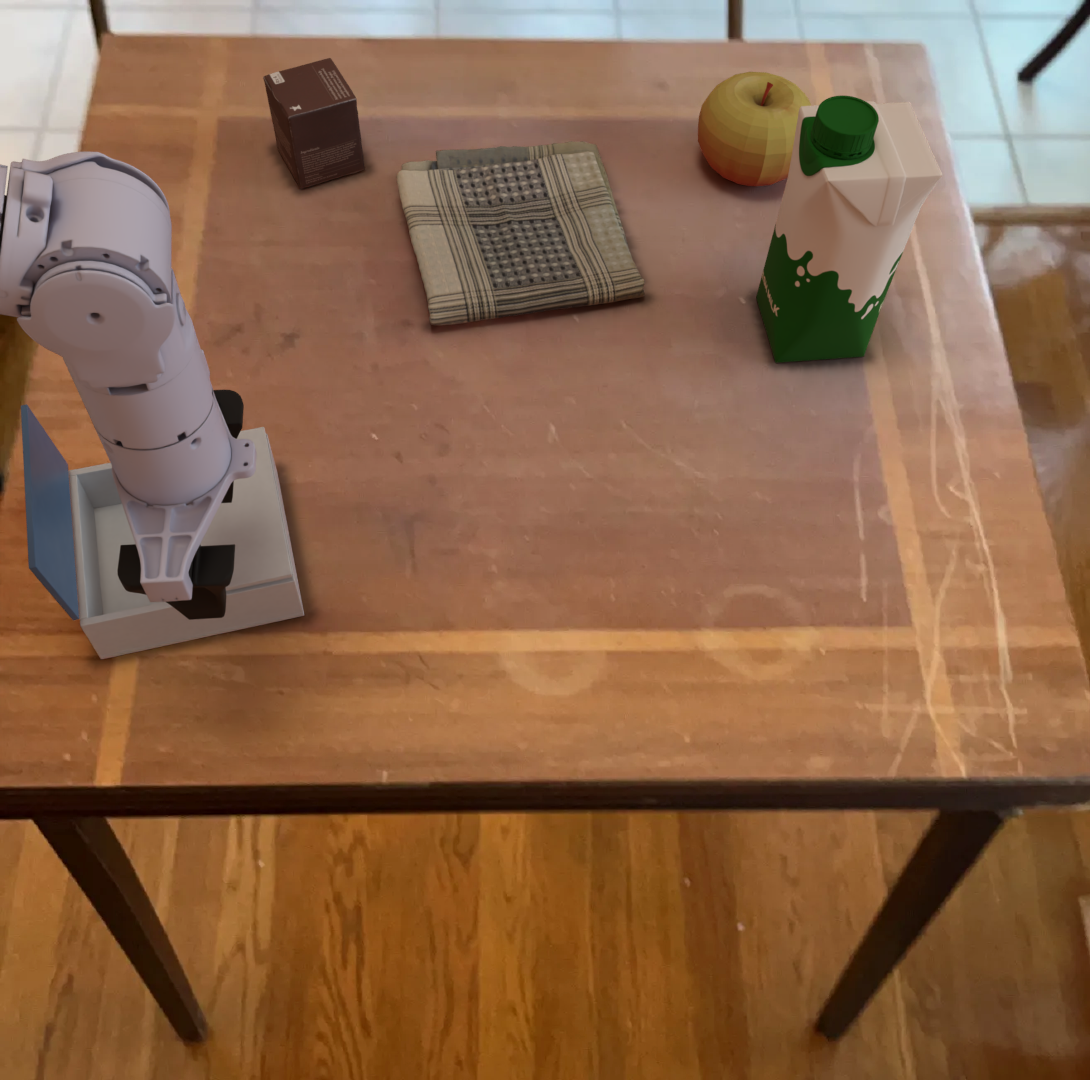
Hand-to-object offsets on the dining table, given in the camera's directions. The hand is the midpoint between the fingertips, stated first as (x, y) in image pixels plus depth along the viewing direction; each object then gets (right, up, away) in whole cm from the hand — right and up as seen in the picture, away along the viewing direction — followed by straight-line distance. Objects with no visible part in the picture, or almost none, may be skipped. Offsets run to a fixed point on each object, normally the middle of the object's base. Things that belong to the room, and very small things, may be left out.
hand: (210, 554), depth 67 cm
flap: (-11, +3, +4) cm, 12 cm away
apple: (+37, +33, +36) cm, 61 cm away
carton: (-5, -1, +12) cm, 13 cm away
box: (0, +33, +34) cm, 48 cm away
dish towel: (+17, +26, +30) cm, 43 cm away
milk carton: (+40, +17, +26) cm, 51 cm away
